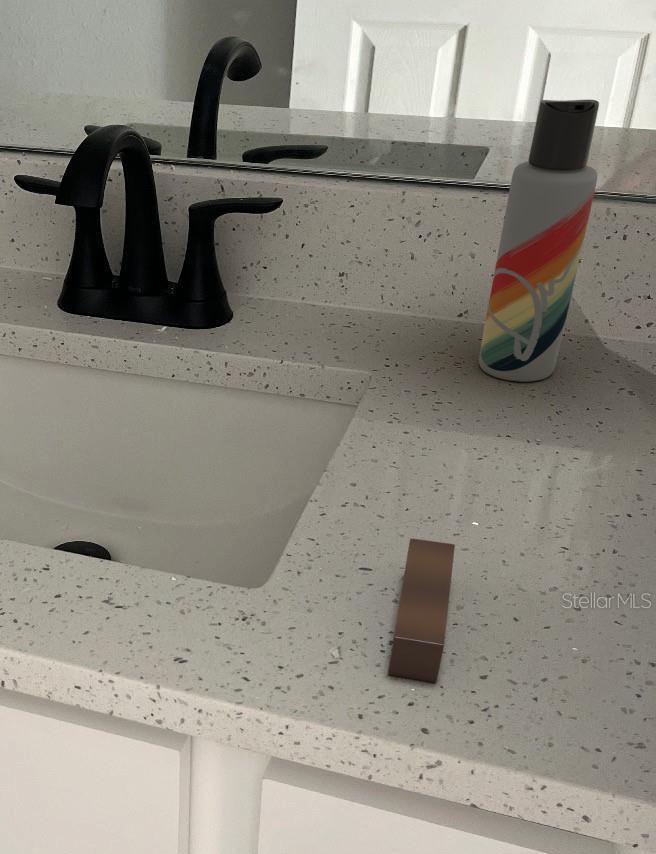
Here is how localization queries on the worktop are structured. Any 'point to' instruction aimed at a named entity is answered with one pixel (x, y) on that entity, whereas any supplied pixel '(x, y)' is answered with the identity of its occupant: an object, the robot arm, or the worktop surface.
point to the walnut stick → (422, 611)
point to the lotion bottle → (541, 244)
